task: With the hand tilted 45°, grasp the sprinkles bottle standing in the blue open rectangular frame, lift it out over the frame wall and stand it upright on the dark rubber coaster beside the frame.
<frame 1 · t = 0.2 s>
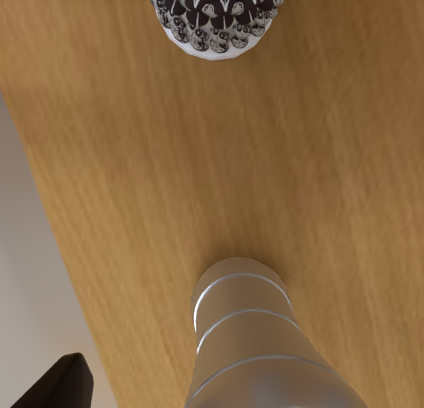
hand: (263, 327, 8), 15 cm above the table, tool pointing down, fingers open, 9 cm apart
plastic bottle: (236, 290, 24), on the table
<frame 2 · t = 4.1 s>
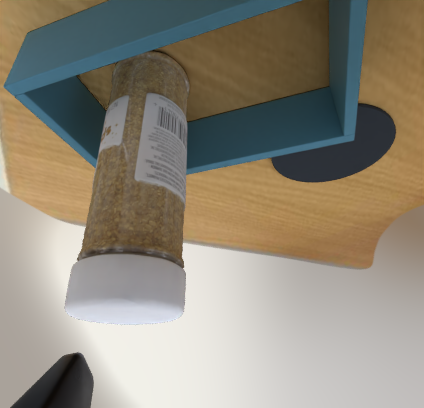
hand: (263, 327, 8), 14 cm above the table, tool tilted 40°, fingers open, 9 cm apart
coaster: (329, 147, 24), on the table
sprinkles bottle: (153, 79, 19), resting in blue open rectangular frame
blue open rectangular frame: (198, 64, 18), on the table
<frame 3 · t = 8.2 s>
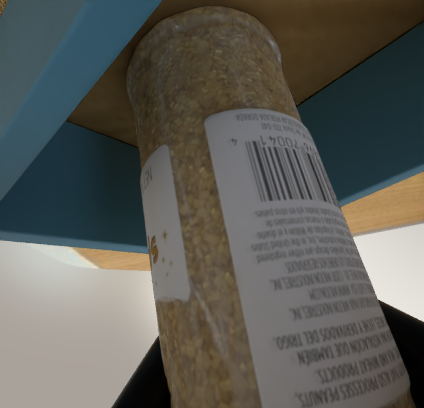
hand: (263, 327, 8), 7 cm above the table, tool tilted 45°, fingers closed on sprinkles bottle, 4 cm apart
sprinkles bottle: (203, 70, 9), resting in blue open rectangular frame, touching gripper
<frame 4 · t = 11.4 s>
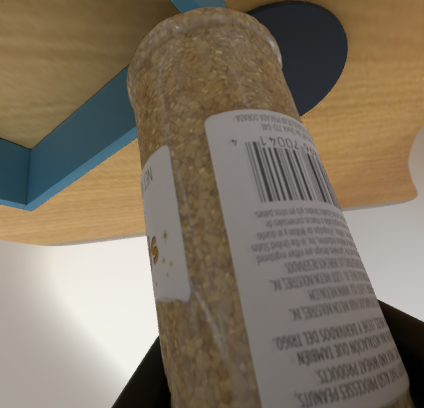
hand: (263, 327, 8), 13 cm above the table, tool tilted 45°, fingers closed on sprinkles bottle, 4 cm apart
coaster: (267, 79, 18), on the table
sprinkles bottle: (203, 70, 9), point 6 cm above the table, touching gripper
blue open rectangular frame: (23, 38, 14), on the table
when the fingers open (7 cm above the table, at t = 14.7 s): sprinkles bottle stays where it is, resting on coaster.
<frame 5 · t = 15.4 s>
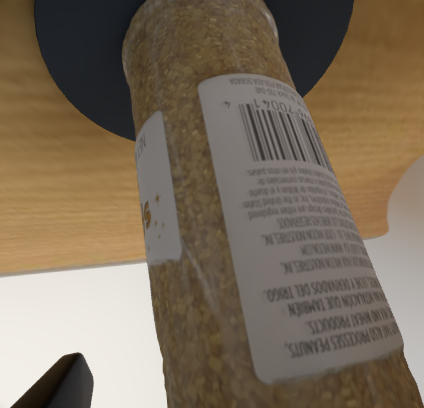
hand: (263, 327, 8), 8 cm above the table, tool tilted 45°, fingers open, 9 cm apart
coaster: (201, 52, 10), on the table
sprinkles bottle: (199, 47, 9), resting on coaster
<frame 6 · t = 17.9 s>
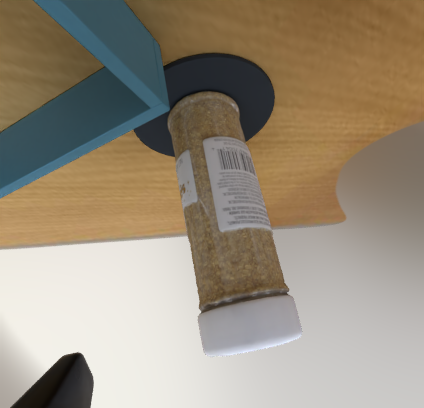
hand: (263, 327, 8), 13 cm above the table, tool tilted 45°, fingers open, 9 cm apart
coaster: (203, 114, 20), on the table
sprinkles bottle: (202, 112, 20), resting on coaster
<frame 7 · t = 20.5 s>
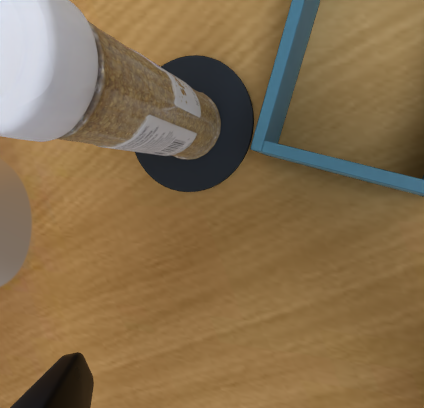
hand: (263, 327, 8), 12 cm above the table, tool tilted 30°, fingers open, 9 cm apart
coaster: (188, 125, 21), on the table
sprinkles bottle: (191, 127, 21), resting on coaster
blue open rectangular frame: (385, 38, 17), on the table
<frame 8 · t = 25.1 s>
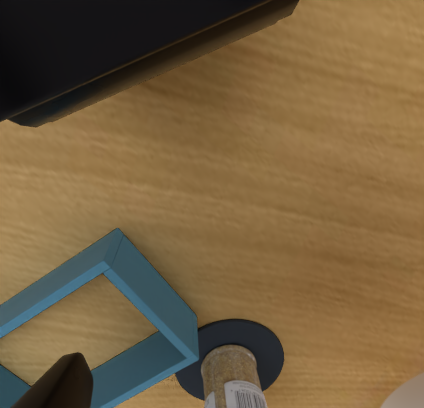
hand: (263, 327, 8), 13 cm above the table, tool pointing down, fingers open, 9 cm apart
coaster: (229, 362, 26), on the table
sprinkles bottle: (228, 360, 26), resting on coaster
blue open rectangular frame: (77, 326, 23), on the table
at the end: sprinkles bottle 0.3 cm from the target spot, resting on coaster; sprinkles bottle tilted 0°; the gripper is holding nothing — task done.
